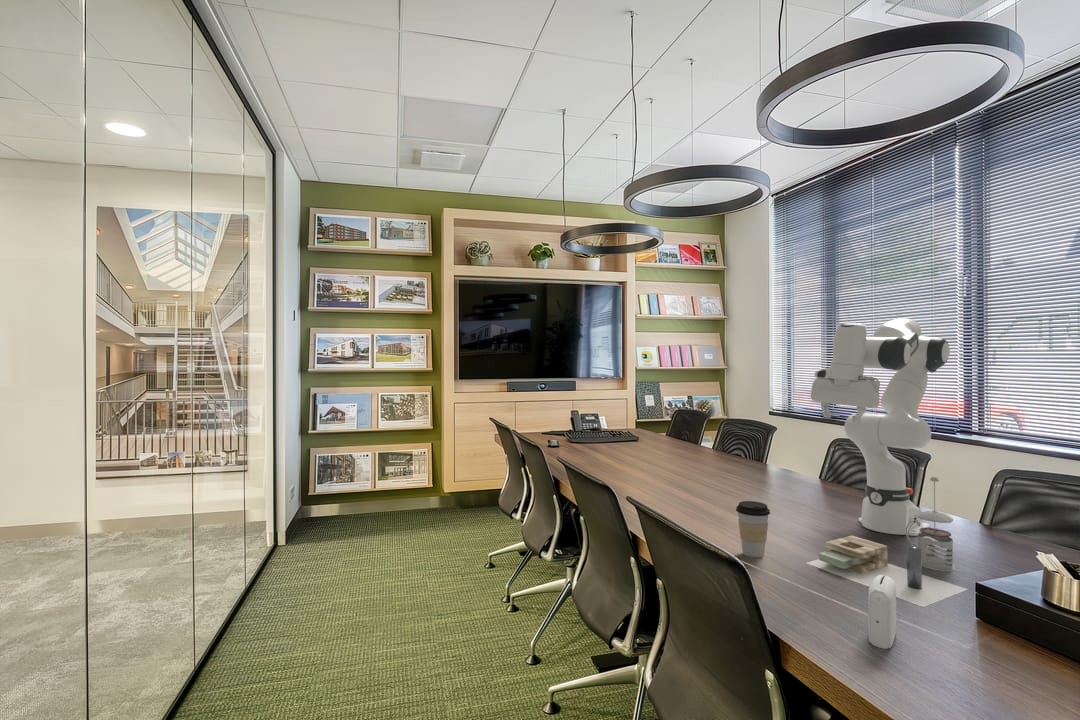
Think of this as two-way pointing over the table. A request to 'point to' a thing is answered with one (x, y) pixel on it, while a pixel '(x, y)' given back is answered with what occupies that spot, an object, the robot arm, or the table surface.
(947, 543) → the french press
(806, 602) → the table surface
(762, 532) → the coffee cup
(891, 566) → the mat
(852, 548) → the clevis
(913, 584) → the pin
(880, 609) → the white rounded slab
